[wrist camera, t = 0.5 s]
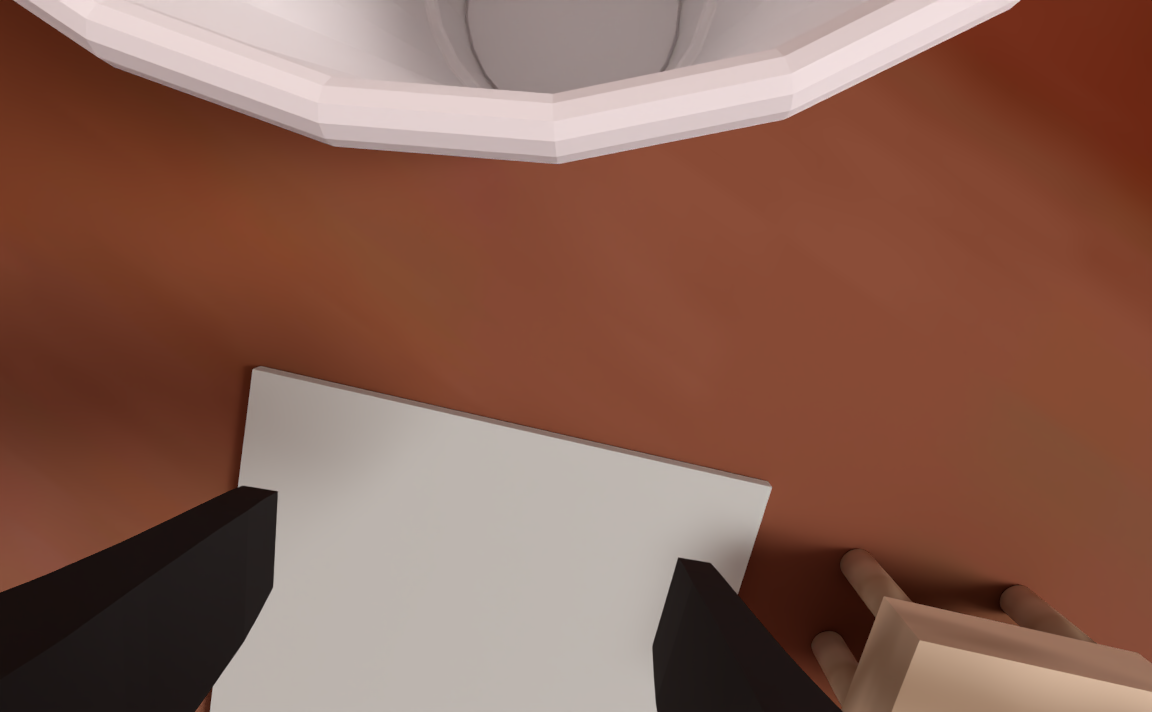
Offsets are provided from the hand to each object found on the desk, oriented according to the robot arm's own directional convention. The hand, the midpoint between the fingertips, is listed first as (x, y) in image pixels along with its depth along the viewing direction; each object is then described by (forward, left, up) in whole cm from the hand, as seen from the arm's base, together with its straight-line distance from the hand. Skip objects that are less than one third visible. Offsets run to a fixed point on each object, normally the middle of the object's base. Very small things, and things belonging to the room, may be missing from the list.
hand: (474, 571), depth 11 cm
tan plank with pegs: (-5, -16, -10) cm, 19 cm away
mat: (-11, 0, -10) cm, 15 cm away
